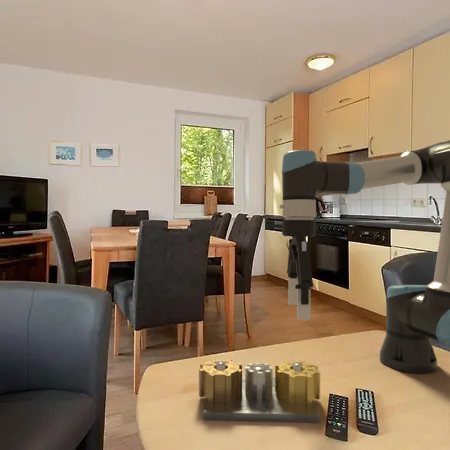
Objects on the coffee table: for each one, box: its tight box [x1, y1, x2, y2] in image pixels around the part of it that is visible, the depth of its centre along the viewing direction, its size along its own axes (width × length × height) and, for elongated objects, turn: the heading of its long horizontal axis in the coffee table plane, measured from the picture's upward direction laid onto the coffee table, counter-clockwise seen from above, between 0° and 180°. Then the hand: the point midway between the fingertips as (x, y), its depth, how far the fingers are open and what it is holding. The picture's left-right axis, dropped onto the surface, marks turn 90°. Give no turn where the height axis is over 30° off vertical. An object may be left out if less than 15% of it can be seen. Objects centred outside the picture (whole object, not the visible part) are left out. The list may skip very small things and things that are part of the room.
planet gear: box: [274, 359, 321, 405], centre depth 86 cm, size 10×10×6 cm
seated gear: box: [198, 358, 243, 403], centre depth 87 cm, size 10×10×6 cm
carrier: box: [202, 361, 321, 424], centre depth 86 cm, size 24×18×9 cm
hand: (298, 311), depth 86 cm, fingers open, 13 cm apart
